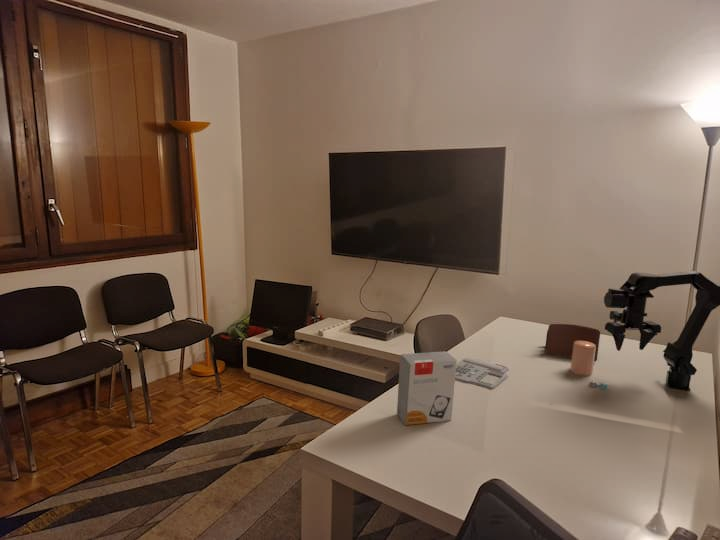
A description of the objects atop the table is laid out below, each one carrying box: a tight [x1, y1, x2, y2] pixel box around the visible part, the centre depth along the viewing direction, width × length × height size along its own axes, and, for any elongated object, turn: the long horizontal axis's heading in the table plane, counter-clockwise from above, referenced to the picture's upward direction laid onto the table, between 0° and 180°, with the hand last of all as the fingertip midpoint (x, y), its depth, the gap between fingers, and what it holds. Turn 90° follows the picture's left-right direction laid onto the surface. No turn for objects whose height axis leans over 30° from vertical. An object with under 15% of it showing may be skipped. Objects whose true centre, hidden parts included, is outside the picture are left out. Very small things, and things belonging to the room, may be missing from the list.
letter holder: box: [545, 323, 601, 362], centre depth 203 cm, size 10×20×14 cm, turn 70°
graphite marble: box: [588, 381, 599, 389], centre depth 168 cm, size 3×3×3 cm
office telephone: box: [455, 356, 510, 390], centre depth 181 cm, size 23×3×20 cm
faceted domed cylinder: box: [570, 341, 596, 377], centre depth 180 cm, size 7×7×12 cm
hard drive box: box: [396, 351, 458, 426], centre depth 144 cm, size 16×8×20 cm, turn 105°
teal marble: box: [597, 382, 609, 390], centre depth 167 cm, size 3×3×3 cm
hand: (629, 350), depth 172 cm, fingers open, 9 cm apart
